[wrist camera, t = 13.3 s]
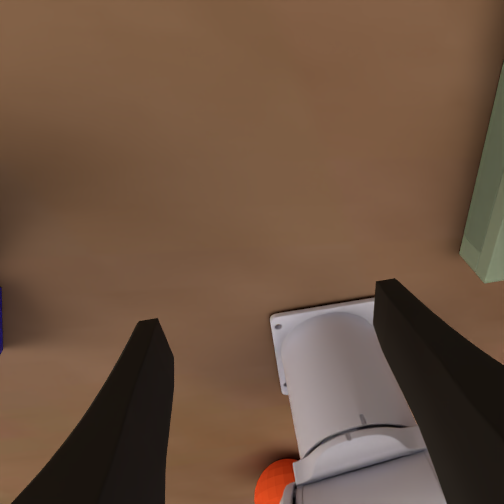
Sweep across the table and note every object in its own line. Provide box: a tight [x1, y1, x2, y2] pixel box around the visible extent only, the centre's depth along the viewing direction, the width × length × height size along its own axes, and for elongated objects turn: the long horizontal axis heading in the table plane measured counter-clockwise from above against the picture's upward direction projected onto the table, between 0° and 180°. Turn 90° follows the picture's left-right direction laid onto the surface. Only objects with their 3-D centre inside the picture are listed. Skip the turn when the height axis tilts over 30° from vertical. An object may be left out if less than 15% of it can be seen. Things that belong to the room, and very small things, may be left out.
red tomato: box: [254, 459, 298, 504], centre depth 39 cm, size 8×7×7 cm
